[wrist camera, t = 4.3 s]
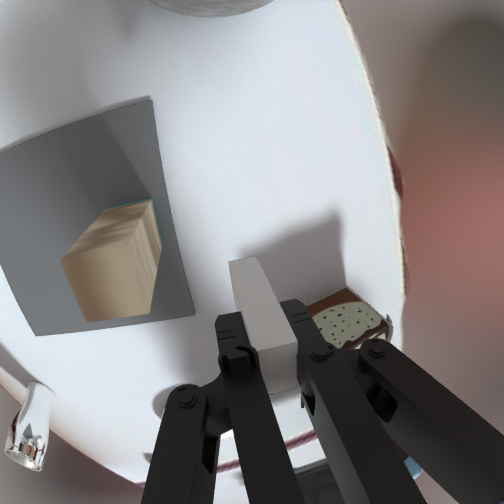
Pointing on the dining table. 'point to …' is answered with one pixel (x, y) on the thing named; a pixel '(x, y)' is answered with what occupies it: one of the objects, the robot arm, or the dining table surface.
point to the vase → (211, 7)
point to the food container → (348, 319)
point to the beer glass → (31, 427)
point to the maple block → (116, 262)
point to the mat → (82, 214)
